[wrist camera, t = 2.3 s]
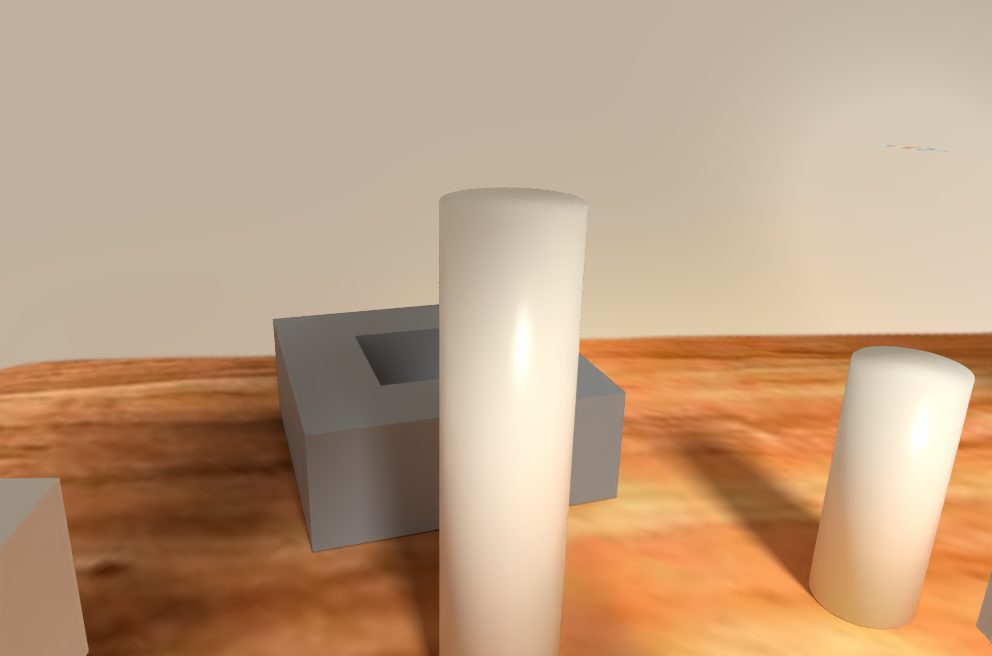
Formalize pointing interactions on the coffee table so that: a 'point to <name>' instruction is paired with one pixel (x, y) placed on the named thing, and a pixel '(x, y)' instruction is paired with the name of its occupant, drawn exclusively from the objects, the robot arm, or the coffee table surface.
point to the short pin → (888, 483)
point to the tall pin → (506, 414)
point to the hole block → (398, 423)
